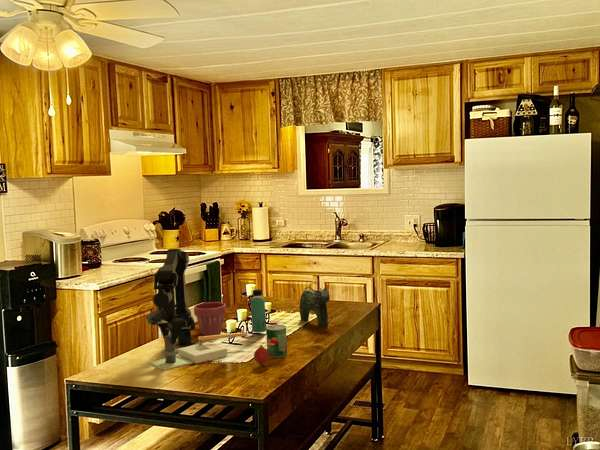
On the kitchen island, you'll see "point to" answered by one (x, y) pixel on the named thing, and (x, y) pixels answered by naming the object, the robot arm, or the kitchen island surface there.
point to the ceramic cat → (315, 304)
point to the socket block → (202, 352)
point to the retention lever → (222, 336)
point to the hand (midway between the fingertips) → (169, 342)
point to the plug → (169, 350)
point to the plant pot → (210, 317)
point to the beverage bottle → (258, 312)
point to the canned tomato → (276, 340)
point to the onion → (261, 356)
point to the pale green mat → (165, 366)
